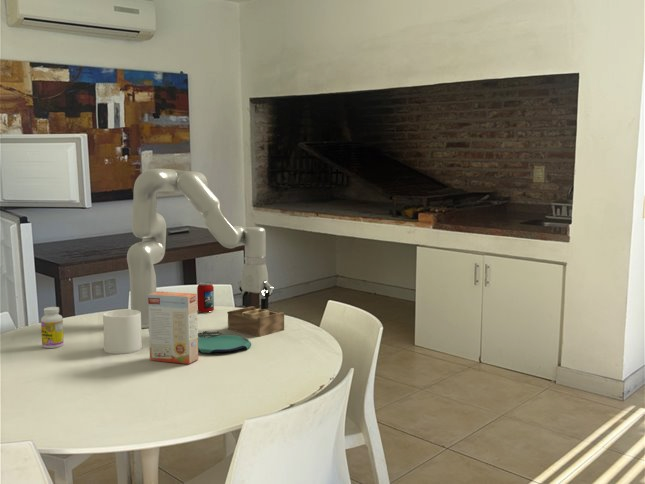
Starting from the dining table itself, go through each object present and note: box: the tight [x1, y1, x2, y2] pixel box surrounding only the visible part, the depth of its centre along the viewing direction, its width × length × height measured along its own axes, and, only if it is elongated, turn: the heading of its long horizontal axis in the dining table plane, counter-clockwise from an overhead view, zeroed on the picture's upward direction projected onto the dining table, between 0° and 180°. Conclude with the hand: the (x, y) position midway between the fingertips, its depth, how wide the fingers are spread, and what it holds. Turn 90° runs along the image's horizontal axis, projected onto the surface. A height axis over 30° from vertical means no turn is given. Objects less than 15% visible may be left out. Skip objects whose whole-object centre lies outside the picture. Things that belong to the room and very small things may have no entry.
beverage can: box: [196, 281, 215, 313], centre depth 259 cm, size 7×7×12 cm
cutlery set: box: [198, 331, 252, 354], centre depth 211 cm, size 20×30×2 cm, turn 29°
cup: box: [102, 308, 143, 355], centre depth 203 cm, size 12×12×12 cm
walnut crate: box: [227, 305, 286, 337], centre depth 229 cm, size 13×17×7 cm
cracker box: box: [148, 291, 199, 365], centre depth 191 cm, size 14×6×21 cm, turn 71°
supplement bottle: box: [40, 306, 64, 349], centre depth 207 cm, size 7×7×13 cm
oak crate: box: [242, 308, 270, 319], centre depth 229 cm, size 9×5×6 cm, turn 141°
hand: (255, 307), depth 229 cm, fingers open, 9 cm apart
